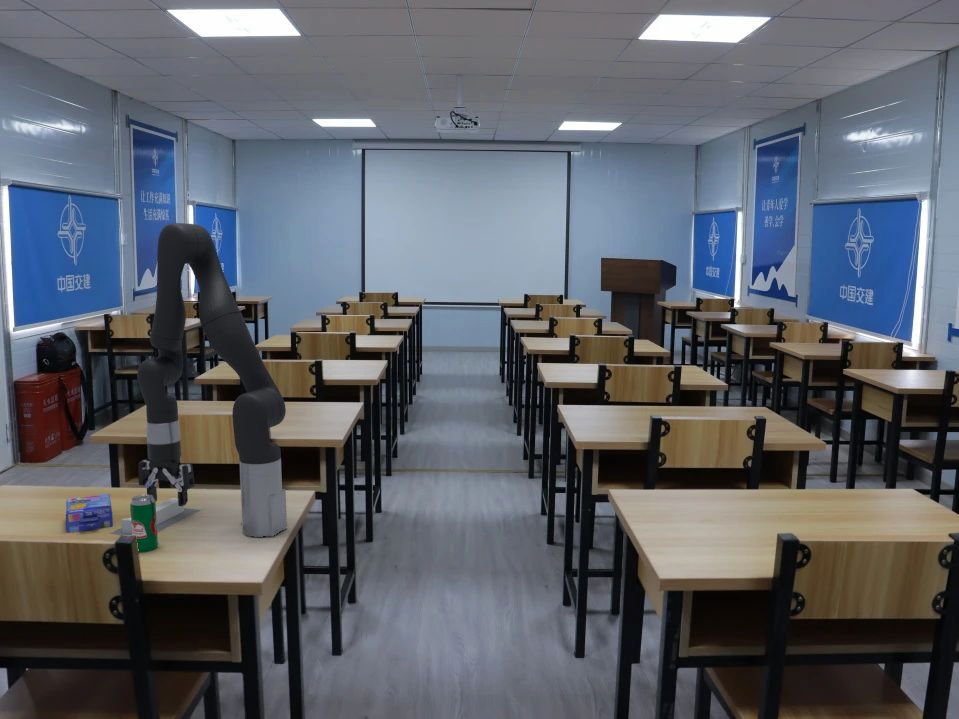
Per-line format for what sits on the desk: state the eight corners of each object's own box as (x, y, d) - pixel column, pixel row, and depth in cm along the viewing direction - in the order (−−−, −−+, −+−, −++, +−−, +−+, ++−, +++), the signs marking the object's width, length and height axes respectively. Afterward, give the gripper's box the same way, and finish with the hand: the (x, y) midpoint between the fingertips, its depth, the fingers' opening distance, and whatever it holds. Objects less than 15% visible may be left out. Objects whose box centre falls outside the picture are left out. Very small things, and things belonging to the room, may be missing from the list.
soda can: (128, 552, 173) (124, 499, 171) (147, 544, 177) (144, 492, 175) (144, 556, 170) (140, 502, 169) (163, 548, 175) (160, 496, 173)
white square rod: (187, 511, 197) (186, 499, 197) (140, 535, 181) (139, 521, 181) (170, 509, 199) (169, 497, 198) (122, 532, 183) (121, 519, 182)
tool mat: (201, 512, 199) (201, 509, 198) (146, 540, 180) (146, 537, 180) (167, 508, 201) (167, 506, 201) (109, 535, 182) (109, 533, 182)
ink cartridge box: (110, 491, 197) (112, 510, 184) (111, 513, 198) (114, 533, 185) (65, 497, 193) (64, 517, 180) (66, 519, 194) (66, 540, 181)
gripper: (198, 437, 193) (202, 501, 195) (149, 433, 197) (153, 496, 199) (178, 445, 186) (182, 511, 188) (128, 440, 190) (132, 506, 192)
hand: (167, 503), depth 194 cm, fingers open, 8 cm apart
